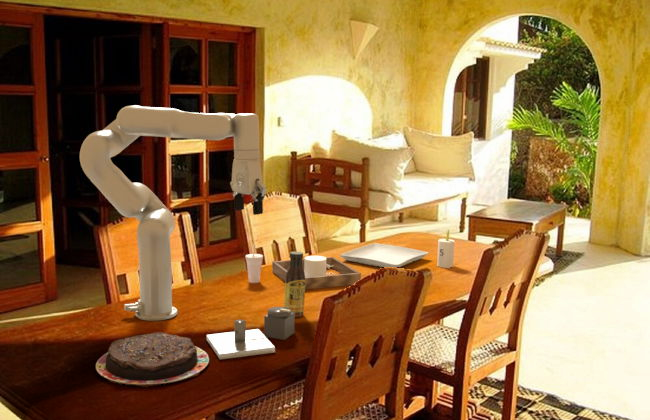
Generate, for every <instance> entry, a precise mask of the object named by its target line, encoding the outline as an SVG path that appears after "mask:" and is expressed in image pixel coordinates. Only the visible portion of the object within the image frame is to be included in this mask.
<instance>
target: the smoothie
mask: <svg viewBox="0 0 650 420" xmlns="http://www.w3.org/2000/svg"><path fill="white" fill-rule="evenodd" d="M244 258H245V260H246V268H247V269H246V270H247V277H248V283H250V284H259V283H260V278H261V271H262V263H263V259H264V255H263V254H260V253H255V244H254V243H253V244H252V253H249V254H245V257H244Z"/></svg>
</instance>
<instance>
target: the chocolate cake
mask: <svg viewBox="0 0 650 420" xmlns="http://www.w3.org/2000/svg"><path fill="white" fill-rule="evenodd" d="M209 363H210V358H209V354H208V353H207V352H206V350H203V349H202V348H200V347H198V346H196V345H194V343H193V341H192V339H191V338H189V337H186V336H179V335H176V334H170V333H166V332H163V331H158V332H151V333H145V334H144V333H143V334H139V335H138V334H137V335H133V336H129V337H125V338H120V339H116V340H114V341H112V342H111V343H110V346H109V347H108V350H107V352H106V353H104V354H103V355H102V356H101V357H100V358H98V359H97V361H96V363H95V371H96V372H97V373H98V375H99V376H101V377H102V378H104V379H106V380H108V381H109V382H110V383H111V382H113V383H112V384H116V383H118V385H122V384H125V385H126V386H129V385H130V386H131V385H132V386H137V387H140V386H141V387H142V388H149V386H151V387H154V385H155V386H162V385H161V384H163V385H167V383H168V384H171V383H176V382H182V381H184V380H188V379H190V378H193V377H197V376H199V375H200V373H201V371H203V370H205V369H206V367H207V366H208V365H209ZM125 385H124V386H125ZM132 386H131V387H132ZM141 387H140V388H141Z"/></svg>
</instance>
